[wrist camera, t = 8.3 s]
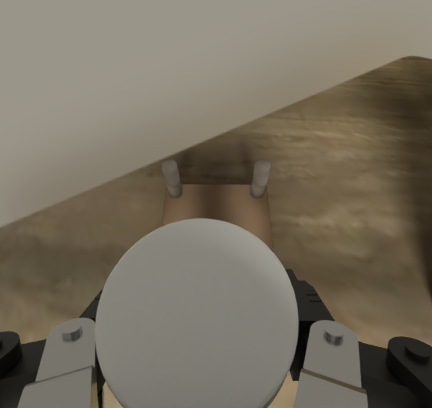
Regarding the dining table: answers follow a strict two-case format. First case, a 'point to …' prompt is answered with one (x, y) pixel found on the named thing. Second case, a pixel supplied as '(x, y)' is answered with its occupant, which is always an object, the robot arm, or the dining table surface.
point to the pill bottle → (197, 320)
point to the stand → (220, 201)
